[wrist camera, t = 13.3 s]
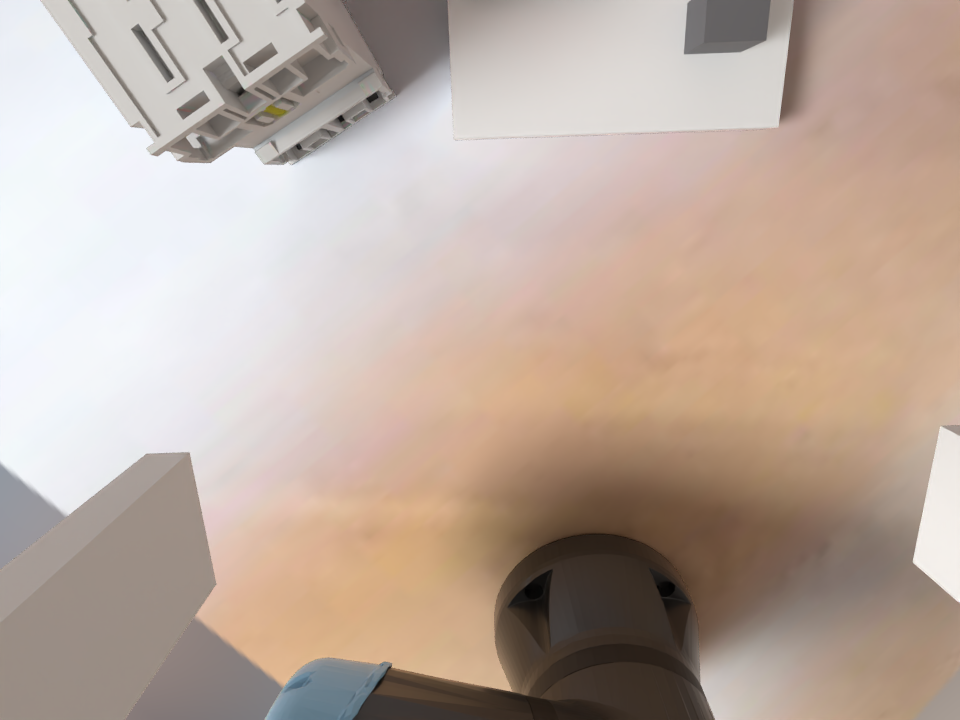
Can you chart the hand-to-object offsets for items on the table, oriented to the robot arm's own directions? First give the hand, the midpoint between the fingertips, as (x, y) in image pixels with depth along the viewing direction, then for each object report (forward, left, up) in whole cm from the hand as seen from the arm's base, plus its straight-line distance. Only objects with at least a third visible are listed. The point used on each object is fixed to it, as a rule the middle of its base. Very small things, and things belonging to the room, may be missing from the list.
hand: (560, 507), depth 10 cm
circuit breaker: (+14, +13, -28) cm, 34 cm away
